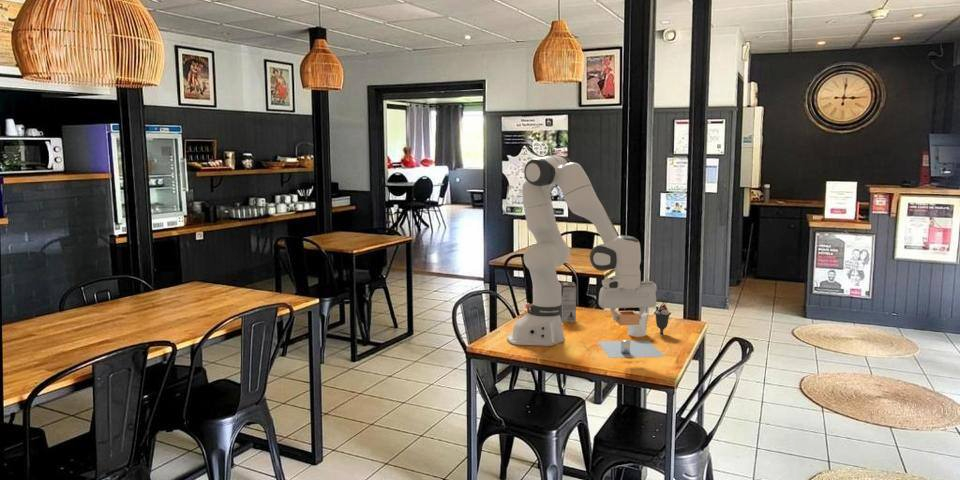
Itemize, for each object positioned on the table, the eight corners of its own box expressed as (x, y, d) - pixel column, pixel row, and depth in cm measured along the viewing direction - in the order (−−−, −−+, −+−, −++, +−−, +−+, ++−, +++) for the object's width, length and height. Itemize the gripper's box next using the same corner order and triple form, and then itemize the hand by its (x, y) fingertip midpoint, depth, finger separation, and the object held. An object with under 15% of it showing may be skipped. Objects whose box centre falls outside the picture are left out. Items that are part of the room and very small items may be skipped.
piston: (622, 354, 236) (622, 342, 236) (619, 351, 239) (620, 339, 239) (631, 354, 236) (631, 341, 236) (628, 351, 239) (629, 339, 239)
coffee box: (559, 316, 297) (559, 281, 294) (573, 316, 296) (574, 281, 294) (561, 322, 287) (562, 285, 285) (576, 322, 287) (577, 285, 285)
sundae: (671, 340, 259) (672, 302, 257) (653, 339, 260) (654, 302, 258) (669, 335, 265) (671, 299, 263) (652, 335, 267) (653, 298, 265)
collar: (620, 325, 233) (620, 315, 232) (615, 320, 239) (615, 311, 239) (639, 324, 233) (639, 315, 232) (634, 320, 240) (634, 310, 239)
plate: (609, 361, 233) (609, 357, 232) (596, 345, 252) (596, 341, 252) (665, 360, 234) (665, 356, 233) (648, 344, 253) (648, 340, 253)
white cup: (622, 336, 264) (623, 312, 263) (638, 334, 267) (639, 310, 266) (634, 341, 257) (635, 316, 256) (651, 339, 260) (651, 314, 259)
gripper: (653, 279, 238) (653, 316, 240) (597, 280, 237) (597, 318, 239) (659, 282, 232) (658, 321, 233) (601, 283, 231) (601, 322, 232)
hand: (627, 319), depth 236 cm, fingers closed on collar, 7 cm apart
